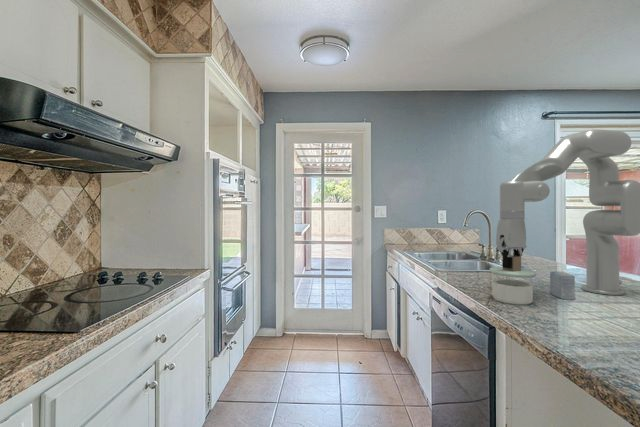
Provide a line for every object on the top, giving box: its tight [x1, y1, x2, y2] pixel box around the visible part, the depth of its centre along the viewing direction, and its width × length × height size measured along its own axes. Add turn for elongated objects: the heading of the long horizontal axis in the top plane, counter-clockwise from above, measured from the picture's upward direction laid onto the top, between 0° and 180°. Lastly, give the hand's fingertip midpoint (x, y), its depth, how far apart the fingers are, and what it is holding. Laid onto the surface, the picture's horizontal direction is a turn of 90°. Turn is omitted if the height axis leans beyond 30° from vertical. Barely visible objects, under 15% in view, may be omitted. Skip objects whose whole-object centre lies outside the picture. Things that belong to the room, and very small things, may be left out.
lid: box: [489, 254, 537, 279], centre depth 112 cm, size 14×14×6 cm
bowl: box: [492, 278, 534, 306], centre depth 113 cm, size 12×12×6 cm
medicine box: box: [549, 271, 576, 301], centre depth 116 cm, size 8×4×9 cm, turn 168°
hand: (511, 266), depth 112 cm, fingers closed on lid, 4 cm apart
